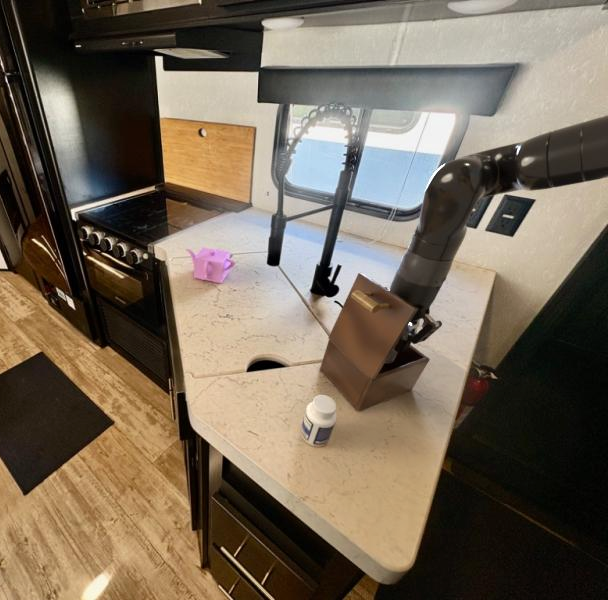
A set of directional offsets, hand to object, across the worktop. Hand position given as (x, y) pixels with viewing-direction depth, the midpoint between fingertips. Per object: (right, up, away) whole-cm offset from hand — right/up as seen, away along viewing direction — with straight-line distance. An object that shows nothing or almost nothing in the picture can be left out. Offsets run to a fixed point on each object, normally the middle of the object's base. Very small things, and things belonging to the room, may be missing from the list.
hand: (389, 342), depth 67 cm
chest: (-2, -9, +6) cm, 11 cm away
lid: (-8, +4, -7) cm, 11 cm away
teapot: (-38, +18, +44) cm, 61 cm away
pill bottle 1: (-18, -18, -6) cm, 26 cm away
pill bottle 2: (0, -4, +3) cm, 5 cm away
